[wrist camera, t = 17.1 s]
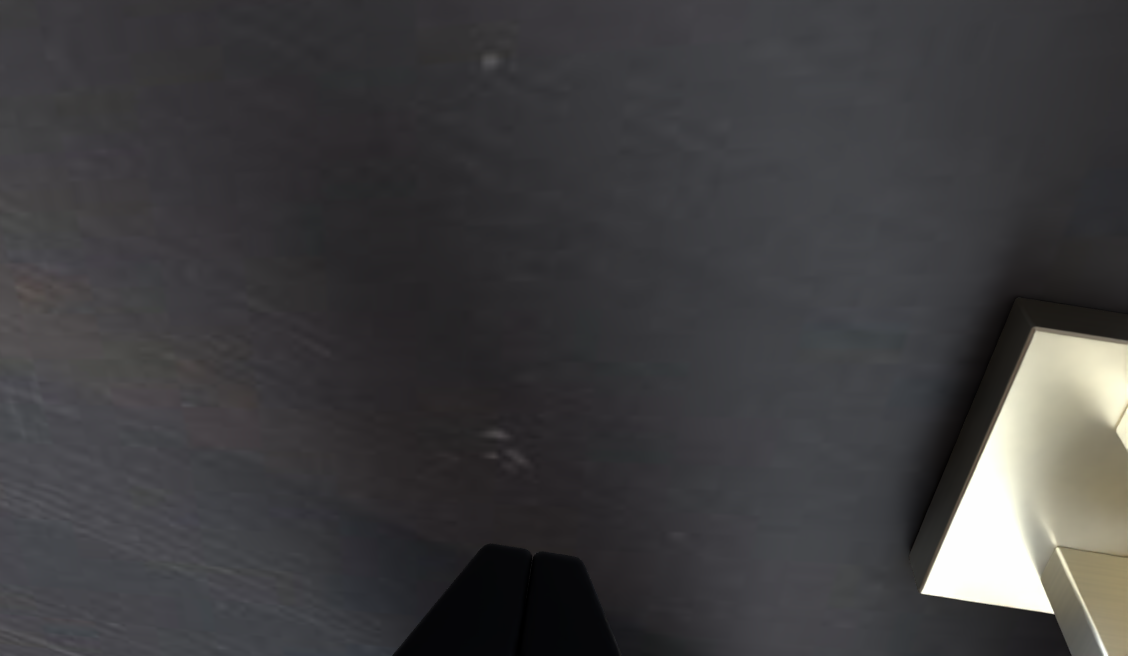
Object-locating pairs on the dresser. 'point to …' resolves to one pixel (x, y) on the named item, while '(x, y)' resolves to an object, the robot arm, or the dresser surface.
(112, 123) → the dresser surface
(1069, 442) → the bracket
